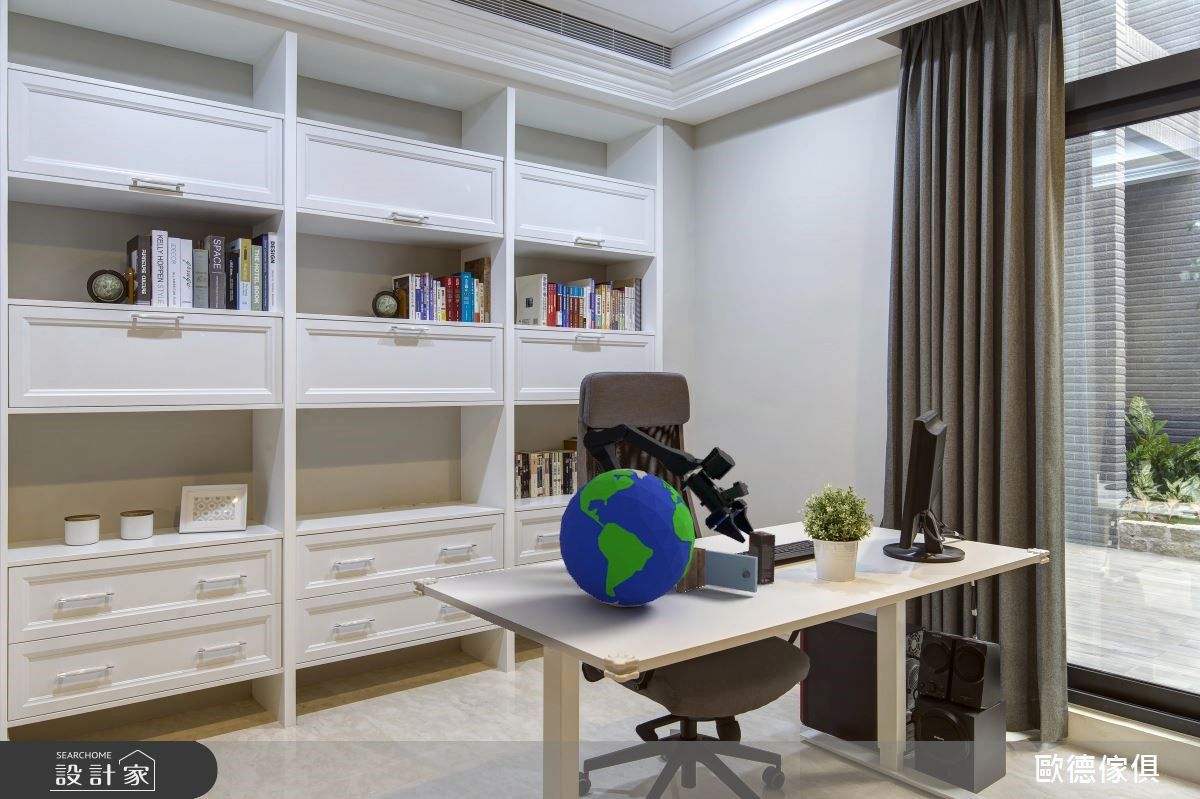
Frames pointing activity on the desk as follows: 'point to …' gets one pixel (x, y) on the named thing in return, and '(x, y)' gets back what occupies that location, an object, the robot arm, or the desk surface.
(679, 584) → the doorframe
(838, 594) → the desk surface
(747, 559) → the door
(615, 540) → the globe
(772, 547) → the box
